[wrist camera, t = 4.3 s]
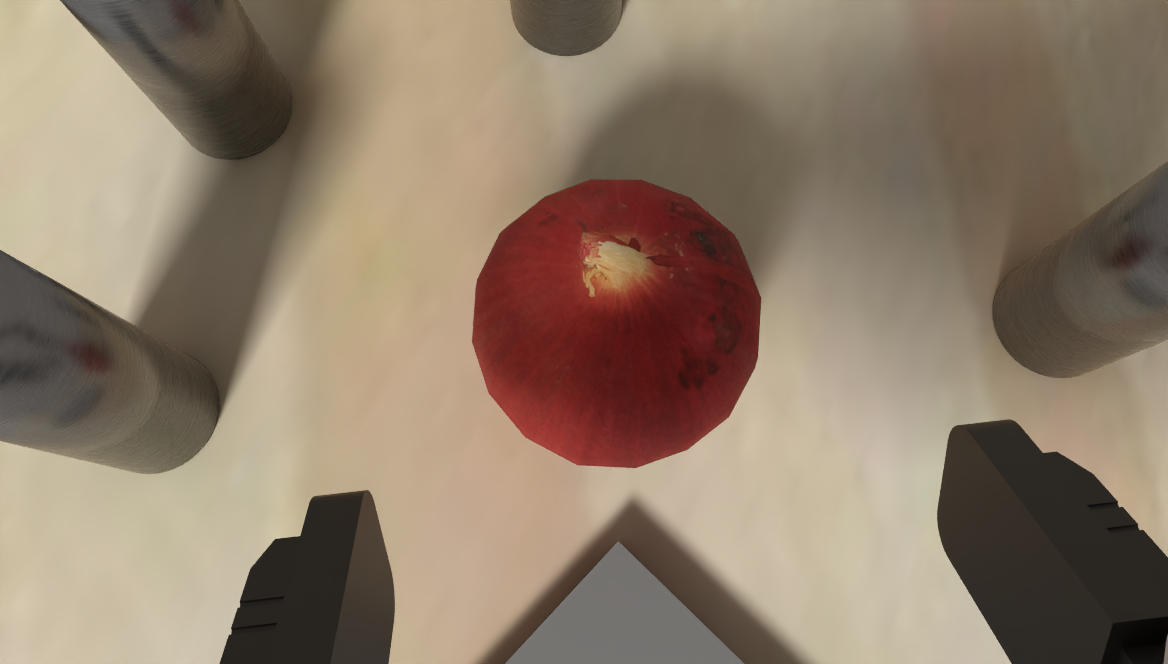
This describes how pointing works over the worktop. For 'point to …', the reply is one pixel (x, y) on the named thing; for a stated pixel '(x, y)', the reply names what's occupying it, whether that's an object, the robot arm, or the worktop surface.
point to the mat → (622, 622)
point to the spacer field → (259, 116)
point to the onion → (616, 323)
